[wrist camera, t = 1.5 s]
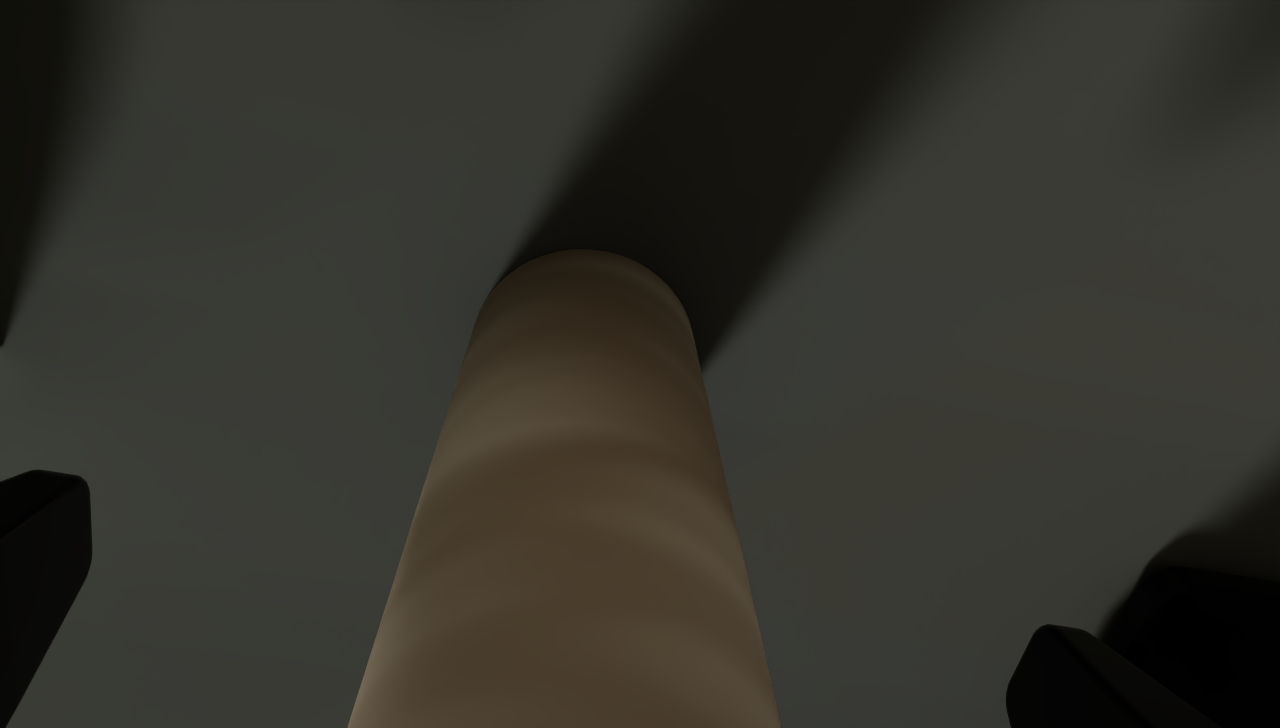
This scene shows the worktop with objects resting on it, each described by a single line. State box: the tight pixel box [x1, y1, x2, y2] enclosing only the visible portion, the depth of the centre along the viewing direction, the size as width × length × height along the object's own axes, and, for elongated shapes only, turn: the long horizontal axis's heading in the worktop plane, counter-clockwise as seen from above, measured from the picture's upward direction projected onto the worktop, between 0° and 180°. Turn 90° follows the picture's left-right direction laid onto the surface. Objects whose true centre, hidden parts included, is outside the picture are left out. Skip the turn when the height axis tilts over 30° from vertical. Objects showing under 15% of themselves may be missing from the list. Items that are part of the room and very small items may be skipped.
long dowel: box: [348, 249, 781, 728], centre depth 9 cm, size 3×3×10 cm
